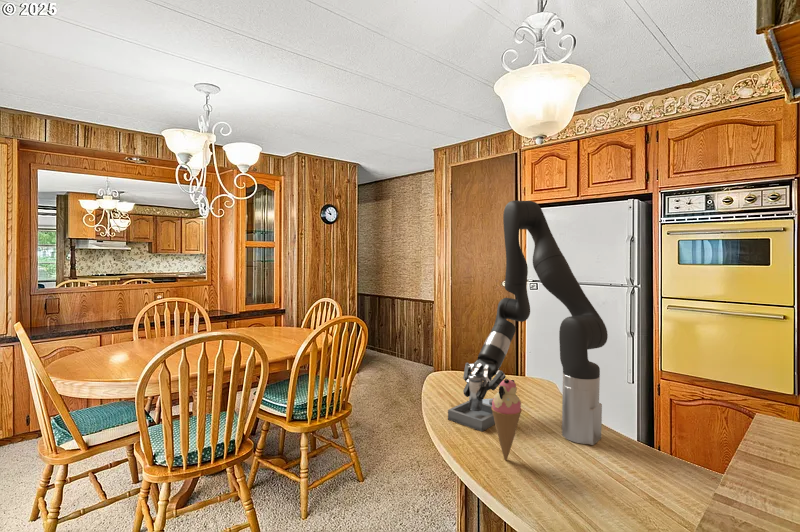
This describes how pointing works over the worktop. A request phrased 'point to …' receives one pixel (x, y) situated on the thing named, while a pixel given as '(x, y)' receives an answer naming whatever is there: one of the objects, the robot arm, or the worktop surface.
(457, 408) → the tray
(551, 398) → the worktop surface
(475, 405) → the salt shaker
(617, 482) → the worktop surface
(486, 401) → the pot lid
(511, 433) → the ice cream cone
